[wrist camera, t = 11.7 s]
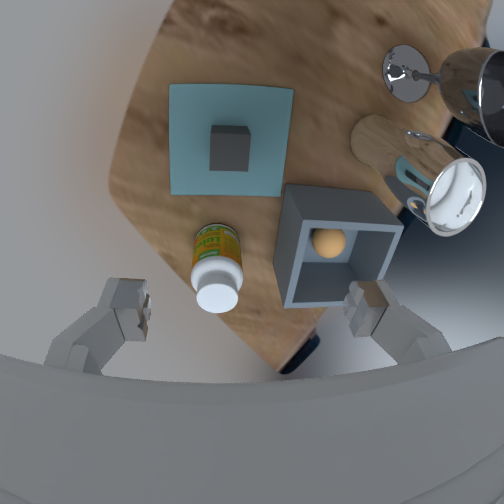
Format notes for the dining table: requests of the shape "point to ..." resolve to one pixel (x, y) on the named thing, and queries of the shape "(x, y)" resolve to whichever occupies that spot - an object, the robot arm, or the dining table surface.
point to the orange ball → (328, 242)
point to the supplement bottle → (217, 268)
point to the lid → (228, 139)
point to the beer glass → (422, 173)
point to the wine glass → (454, 85)
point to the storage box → (348, 261)
